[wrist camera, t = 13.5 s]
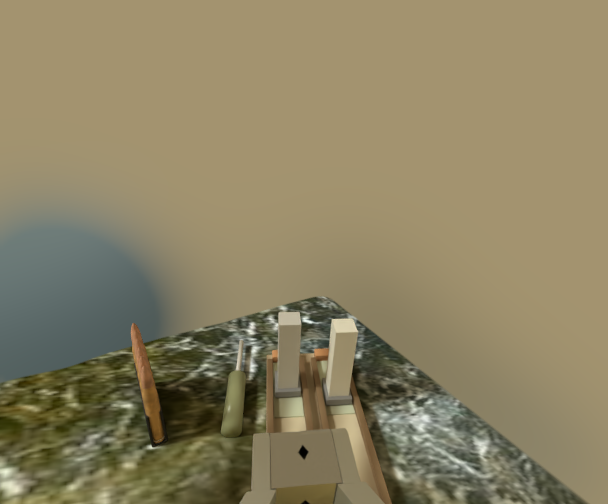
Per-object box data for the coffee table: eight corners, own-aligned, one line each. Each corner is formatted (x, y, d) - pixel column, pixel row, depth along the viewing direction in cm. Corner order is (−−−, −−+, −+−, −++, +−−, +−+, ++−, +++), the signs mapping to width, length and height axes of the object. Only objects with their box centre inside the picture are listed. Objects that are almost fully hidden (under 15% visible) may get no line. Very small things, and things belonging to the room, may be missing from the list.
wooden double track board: (265, 605, 27) (265, 591, 26) (266, 360, 53) (266, 348, 52) (410, 587, 29) (415, 573, 28) (342, 357, 55) (344, 346, 54)
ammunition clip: (168, 440, 40) (154, 368, 35) (152, 448, 39) (135, 374, 34) (153, 383, 48) (140, 317, 43) (139, 387, 47) (124, 321, 42)
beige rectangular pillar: (326, 405, 44) (333, 335, 39) (321, 382, 48) (328, 316, 43) (351, 404, 44) (362, 335, 40) (345, 381, 48) (354, 316, 43)
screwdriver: (241, 438, 41) (242, 424, 40) (220, 438, 41) (220, 424, 40) (248, 347, 56) (249, 336, 55) (233, 347, 56) (234, 335, 55)
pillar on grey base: (275, 397, 45) (276, 328, 40) (274, 375, 48) (275, 309, 44) (300, 396, 45) (304, 327, 40) (298, 374, 49) (301, 309, 44)
